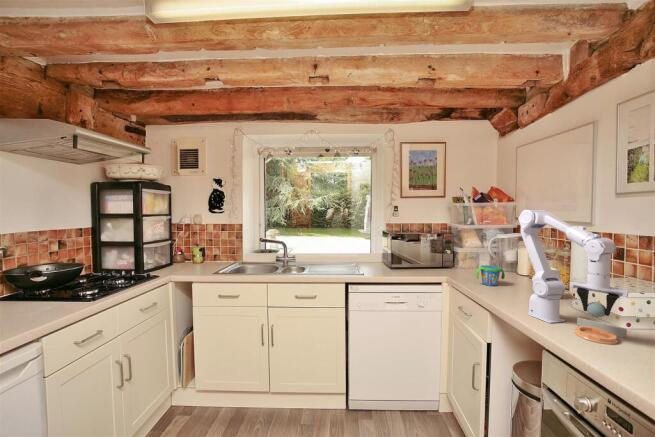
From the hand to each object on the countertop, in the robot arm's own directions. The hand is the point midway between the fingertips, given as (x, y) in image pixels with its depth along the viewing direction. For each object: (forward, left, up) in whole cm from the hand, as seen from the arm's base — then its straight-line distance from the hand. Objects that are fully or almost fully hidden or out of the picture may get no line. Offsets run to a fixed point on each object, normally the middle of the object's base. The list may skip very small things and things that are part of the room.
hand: (596, 312), depth 99 cm
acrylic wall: (-3, +8, -8) cm, 12 cm away
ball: (0, 0, +1) cm, 1 cm away
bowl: (0, 0, -8) cm, 8 cm away
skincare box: (-39, +28, -9) cm, 48 cm away
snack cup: (-65, +19, -9) cm, 68 cm away
